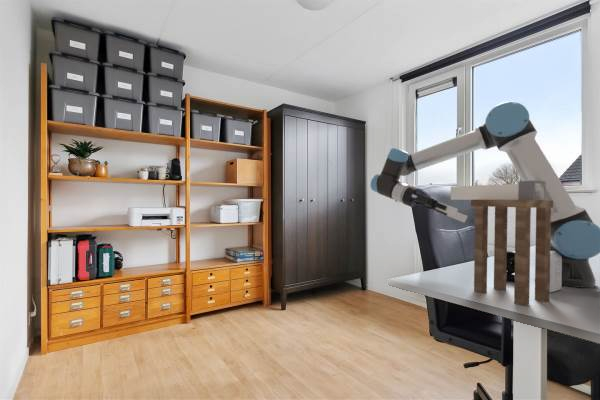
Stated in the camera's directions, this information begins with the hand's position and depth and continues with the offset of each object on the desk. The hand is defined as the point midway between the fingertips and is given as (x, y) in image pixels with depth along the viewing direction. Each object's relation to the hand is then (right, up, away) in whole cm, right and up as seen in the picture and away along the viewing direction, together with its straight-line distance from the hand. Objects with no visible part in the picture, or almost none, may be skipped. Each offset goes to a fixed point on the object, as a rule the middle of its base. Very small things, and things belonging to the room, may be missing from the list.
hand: (461, 216), depth 107 cm
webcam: (+18, -23, +3) cm, 29 cm away
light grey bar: (+4, +6, -11) cm, 13 cm away
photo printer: (+22, -23, -10) cm, 34 cm away
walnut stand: (+6, -22, -16) cm, 28 cm away
